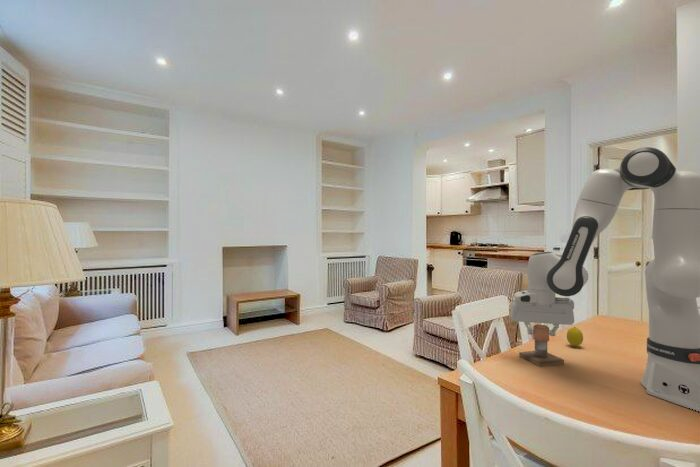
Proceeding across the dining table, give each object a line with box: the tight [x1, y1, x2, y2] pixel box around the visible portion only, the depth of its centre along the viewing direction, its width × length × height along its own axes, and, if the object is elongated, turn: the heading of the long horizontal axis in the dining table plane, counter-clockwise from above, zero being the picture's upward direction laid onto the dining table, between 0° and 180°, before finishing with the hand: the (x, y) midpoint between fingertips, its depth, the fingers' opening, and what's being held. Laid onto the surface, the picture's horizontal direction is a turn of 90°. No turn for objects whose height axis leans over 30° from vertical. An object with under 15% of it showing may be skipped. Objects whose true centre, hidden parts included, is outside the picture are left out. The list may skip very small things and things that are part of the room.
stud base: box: [518, 340, 565, 368], centre depth 122 cm, size 10×10×8 cm
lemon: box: [566, 326, 584, 348], centre depth 136 cm, size 6×6×8 cm
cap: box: [532, 323, 550, 343], centre depth 122 cm, size 5×5×5 cm
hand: (541, 334), depth 122 cm, fingers open, 6 cm apart
